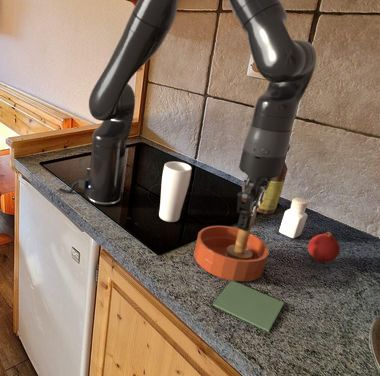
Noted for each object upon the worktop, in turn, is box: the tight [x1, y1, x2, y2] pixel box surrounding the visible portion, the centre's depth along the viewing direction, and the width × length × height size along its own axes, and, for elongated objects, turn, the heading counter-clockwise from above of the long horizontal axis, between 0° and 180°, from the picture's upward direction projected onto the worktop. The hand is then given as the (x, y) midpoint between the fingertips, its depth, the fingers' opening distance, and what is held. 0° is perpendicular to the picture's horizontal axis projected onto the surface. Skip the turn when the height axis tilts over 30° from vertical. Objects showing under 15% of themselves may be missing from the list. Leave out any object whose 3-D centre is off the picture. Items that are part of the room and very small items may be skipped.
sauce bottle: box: [256, 143, 291, 215], centre depth 109 cm, size 6×6×20 cm
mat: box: [212, 280, 285, 333], centre depth 78 cm, size 10×10×1 cm
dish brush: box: [225, 206, 256, 260], centre depth 86 cm, size 5×5×14 cm
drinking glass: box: [158, 161, 192, 223], centre depth 105 cm, size 7×7×15 cm
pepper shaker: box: [278, 197, 309, 239], centre depth 100 cm, size 4×4×10 cm
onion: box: [307, 231, 341, 264], centre depth 90 cm, size 6×6×8 cm
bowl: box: [193, 225, 270, 282], centre depth 89 cm, size 14×14×6 cm
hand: (244, 226), depth 86 cm, fingers closed on dish brush
